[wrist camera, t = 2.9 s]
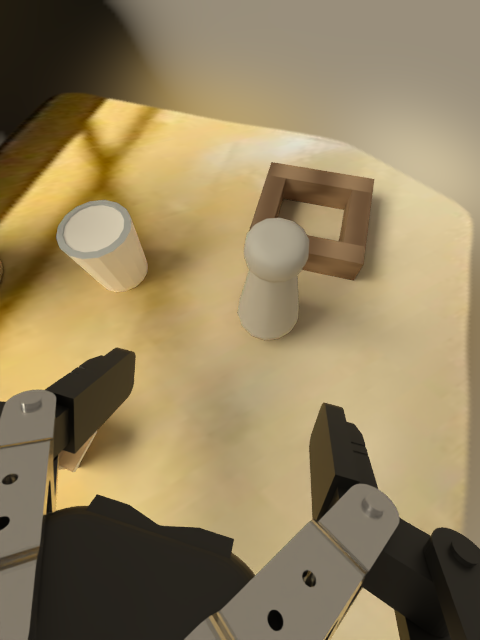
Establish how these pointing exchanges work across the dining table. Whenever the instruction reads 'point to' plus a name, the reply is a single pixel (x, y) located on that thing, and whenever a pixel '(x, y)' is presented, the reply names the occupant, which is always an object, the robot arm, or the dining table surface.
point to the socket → (324, 191)
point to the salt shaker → (272, 277)
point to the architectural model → (73, 456)
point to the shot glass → (104, 244)
